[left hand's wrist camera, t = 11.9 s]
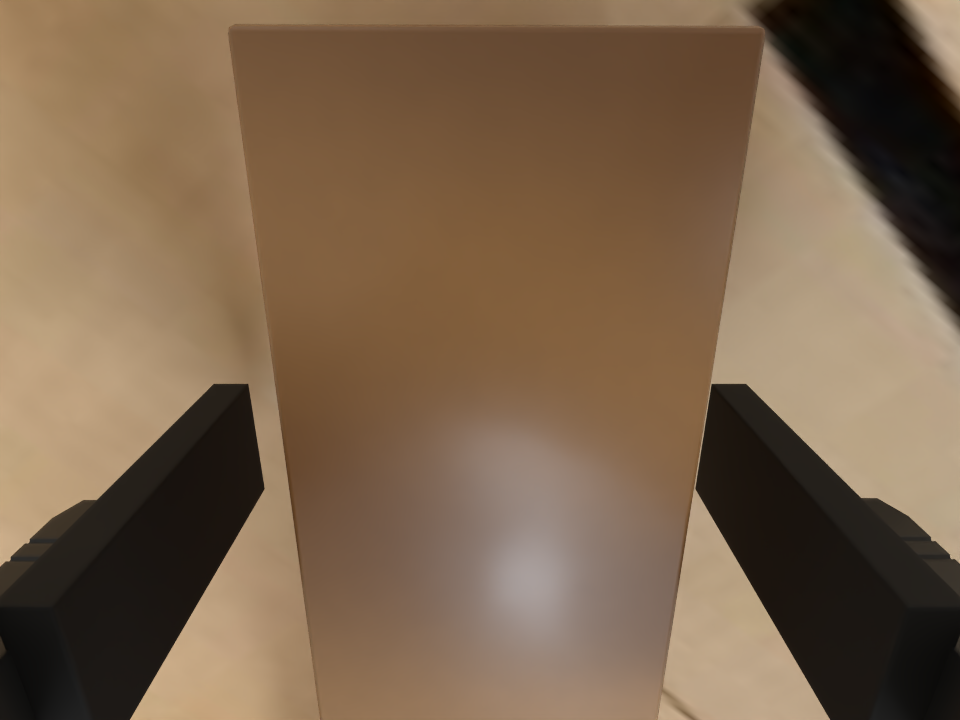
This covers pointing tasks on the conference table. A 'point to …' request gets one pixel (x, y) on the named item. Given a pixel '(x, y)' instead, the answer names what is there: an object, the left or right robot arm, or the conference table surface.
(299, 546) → the beam
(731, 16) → the conference table surface
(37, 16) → the conference table surface
